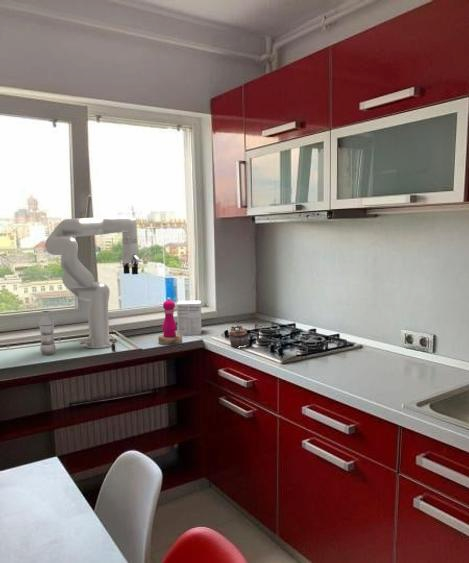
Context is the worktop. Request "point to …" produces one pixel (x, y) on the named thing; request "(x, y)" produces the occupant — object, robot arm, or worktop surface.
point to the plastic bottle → (47, 334)
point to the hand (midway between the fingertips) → (130, 273)
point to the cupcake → (238, 336)
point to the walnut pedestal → (170, 339)
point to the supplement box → (189, 317)
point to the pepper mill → (169, 319)
